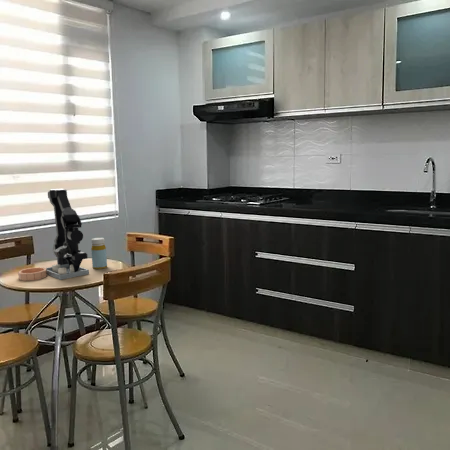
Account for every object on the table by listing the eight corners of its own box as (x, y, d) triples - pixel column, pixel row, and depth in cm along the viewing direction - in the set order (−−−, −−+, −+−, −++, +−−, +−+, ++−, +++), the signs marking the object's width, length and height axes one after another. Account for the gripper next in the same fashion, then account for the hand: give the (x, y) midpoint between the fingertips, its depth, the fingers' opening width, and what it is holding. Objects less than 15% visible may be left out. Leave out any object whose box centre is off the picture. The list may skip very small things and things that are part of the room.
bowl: (15, 278, 222) (14, 270, 222) (40, 273, 230) (40, 266, 230) (24, 282, 213) (24, 275, 213) (51, 277, 221) (50, 270, 221)
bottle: (103, 270, 233) (101, 239, 231) (90, 269, 234) (88, 239, 232) (109, 266, 240) (107, 237, 238) (96, 266, 241) (94, 237, 239)
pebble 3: (69, 273, 227) (68, 265, 226) (76, 271, 229) (75, 263, 229) (72, 274, 224) (71, 266, 224) (79, 272, 227) (78, 264, 226)
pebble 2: (57, 277, 220) (56, 268, 220) (64, 275, 223) (64, 267, 222) (60, 278, 217) (60, 269, 217) (68, 276, 220) (67, 268, 219)
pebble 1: (51, 273, 227) (50, 265, 227) (58, 272, 230) (58, 264, 229) (54, 274, 225) (54, 266, 224) (62, 273, 227) (61, 265, 227)
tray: (42, 273, 230) (42, 268, 229) (70, 268, 239) (69, 263, 239) (60, 280, 215) (59, 275, 215) (88, 274, 224) (88, 269, 224)
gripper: (46, 239, 226) (49, 271, 228) (63, 244, 212) (66, 278, 215) (69, 236, 233) (71, 267, 236) (86, 240, 220) (89, 273, 222)
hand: (74, 271), depth 227 cm, fingers closed on pebble 3, 4 cm apart
